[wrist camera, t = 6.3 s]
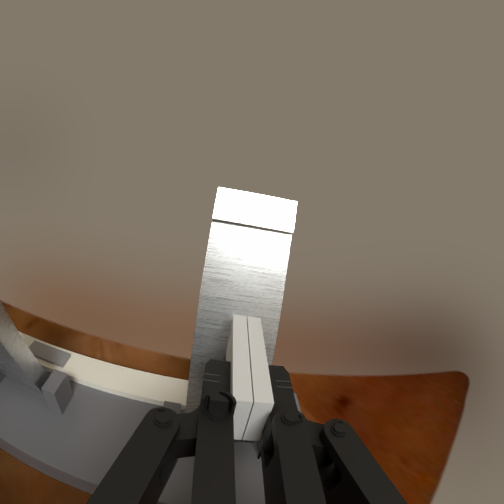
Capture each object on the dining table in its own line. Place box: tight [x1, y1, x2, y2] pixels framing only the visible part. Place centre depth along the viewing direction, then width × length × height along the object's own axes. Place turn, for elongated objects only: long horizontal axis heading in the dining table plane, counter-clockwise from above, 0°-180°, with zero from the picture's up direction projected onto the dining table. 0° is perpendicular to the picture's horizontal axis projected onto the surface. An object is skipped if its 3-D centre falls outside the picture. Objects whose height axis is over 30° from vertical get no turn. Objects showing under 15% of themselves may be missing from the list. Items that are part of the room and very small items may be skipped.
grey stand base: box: [0, 332, 301, 504], centre depth 16 cm, size 30×12×6 cm, turn 94°
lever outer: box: [185, 187, 297, 443], centre depth 17 cm, size 5×2×17 cm, turn 94°
